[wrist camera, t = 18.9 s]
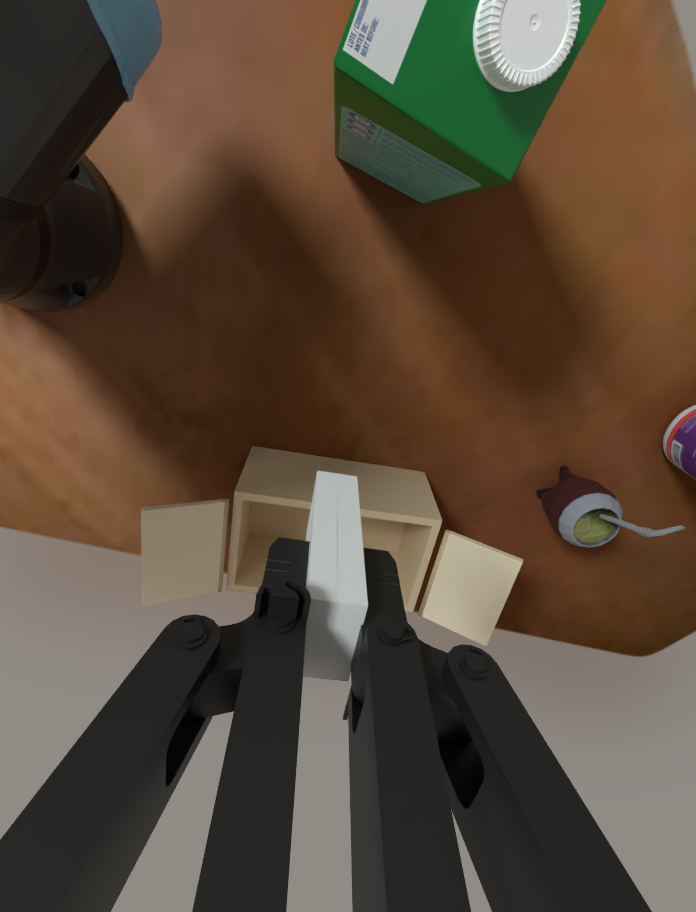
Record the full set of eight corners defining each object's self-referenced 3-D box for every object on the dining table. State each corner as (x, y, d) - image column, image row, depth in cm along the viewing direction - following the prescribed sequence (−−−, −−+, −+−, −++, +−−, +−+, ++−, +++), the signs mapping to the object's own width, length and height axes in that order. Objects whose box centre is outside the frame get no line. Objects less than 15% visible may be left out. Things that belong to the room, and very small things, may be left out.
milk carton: (425, 205, 42) (529, 179, 19) (334, 155, 40) (331, 63, 18) (478, 93, 38) (679, -99, 16) (380, 32, 36) (452, -281, 14)
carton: (243, 533, 57) (226, 590, 48) (252, 445, 52) (234, 491, 43) (401, 554, 59) (412, 612, 50) (424, 471, 54) (442, 520, 45)
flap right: (417, 614, 49) (486, 646, 47) (444, 531, 44) (522, 562, 42) (419, 611, 50) (487, 642, 47) (446, 528, 45) (523, 559, 43)
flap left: (229, 501, 42) (141, 511, 39) (222, 591, 47) (143, 607, 43) (228, 498, 43) (140, 507, 39) (221, 587, 47) (142, 602, 44)
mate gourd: (533, 517, 57) (594, 606, 44) (533, 461, 54) (598, 539, 40) (594, 507, 57) (675, 594, 43) (598, 450, 53) (687, 525, 40)
